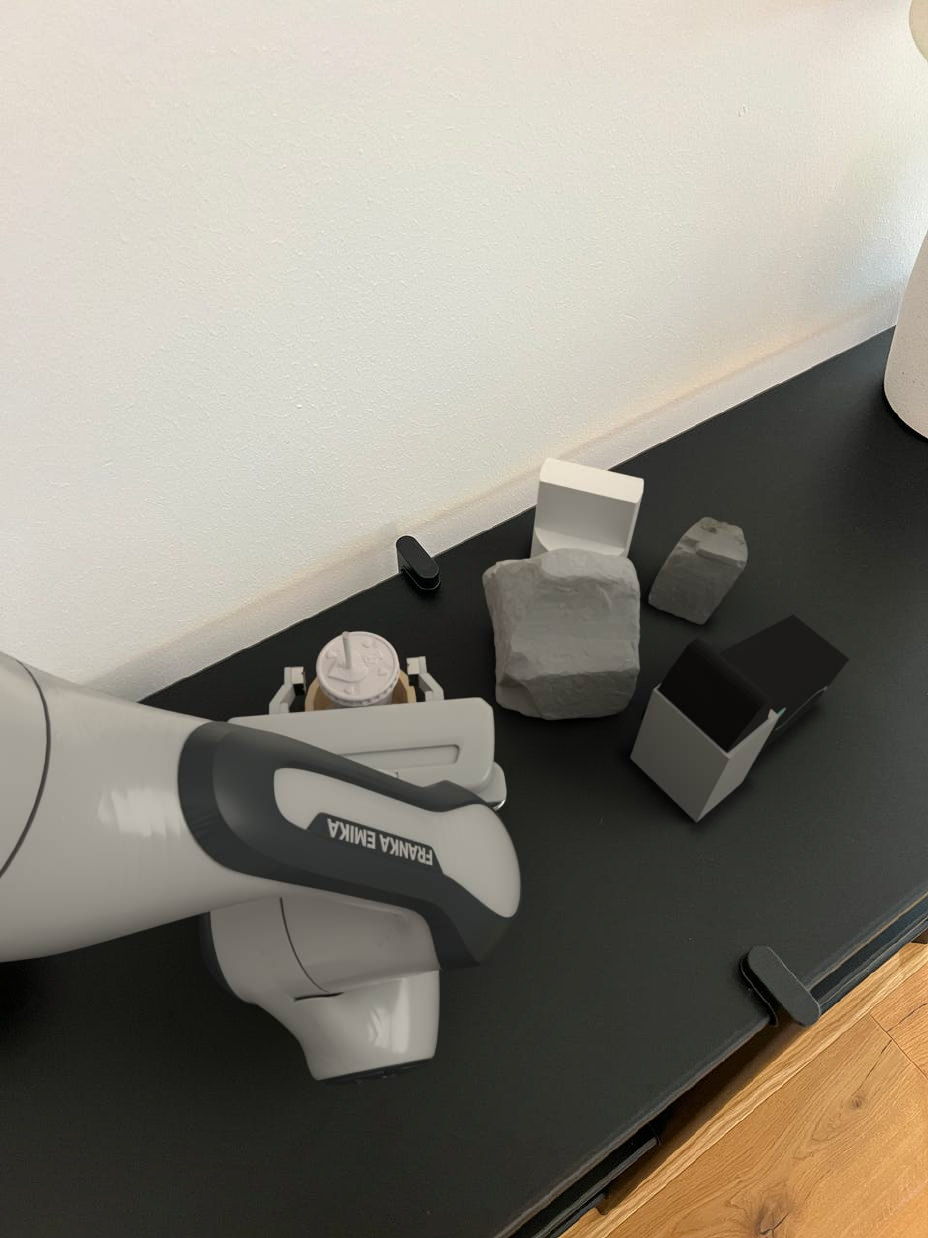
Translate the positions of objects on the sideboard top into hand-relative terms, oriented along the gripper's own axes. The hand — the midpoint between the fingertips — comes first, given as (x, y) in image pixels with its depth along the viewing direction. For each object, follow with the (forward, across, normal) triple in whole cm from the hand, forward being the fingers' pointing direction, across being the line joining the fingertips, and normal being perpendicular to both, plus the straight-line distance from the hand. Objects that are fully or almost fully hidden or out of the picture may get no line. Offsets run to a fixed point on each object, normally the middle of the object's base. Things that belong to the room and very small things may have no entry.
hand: (355, 665), depth 74 cm
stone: (+4, -17, +9) cm, 19 cm away
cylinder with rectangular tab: (+15, -21, +9) cm, 27 cm away
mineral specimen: (+11, -32, +9) cm, 34 cm away
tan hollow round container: (-1, 0, +9) cm, 9 cm away
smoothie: (-1, 0, +8) cm, 8 cm away
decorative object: (-4, -32, +9) cm, 33 cm away
